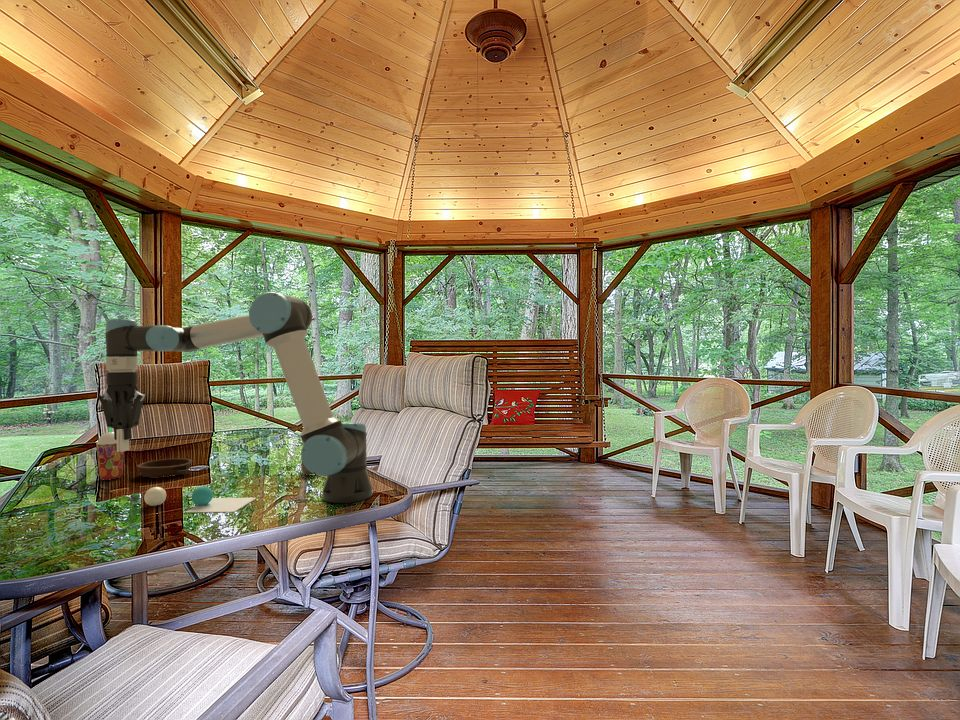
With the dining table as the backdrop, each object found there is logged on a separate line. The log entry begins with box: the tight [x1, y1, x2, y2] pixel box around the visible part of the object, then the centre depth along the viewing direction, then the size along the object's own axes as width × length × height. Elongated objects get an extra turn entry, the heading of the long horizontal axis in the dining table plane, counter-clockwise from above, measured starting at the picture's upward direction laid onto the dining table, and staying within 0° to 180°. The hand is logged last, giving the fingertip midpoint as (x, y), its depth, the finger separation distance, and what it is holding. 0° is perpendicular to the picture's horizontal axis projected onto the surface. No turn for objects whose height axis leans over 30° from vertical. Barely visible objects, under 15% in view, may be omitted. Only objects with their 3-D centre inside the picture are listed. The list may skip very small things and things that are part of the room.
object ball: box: [191, 486, 214, 506], centre depth 146 cm, size 6×6×6 cm
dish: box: [136, 457, 193, 478], centre depth 186 cm, size 18×22×5 cm
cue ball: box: [143, 486, 167, 507], centre depth 146 cm, size 6×6×6 cm
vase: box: [300, 461, 314, 475], centre depth 184 cm, size 7×7×9 cm
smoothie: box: [96, 427, 125, 480], centre depth 180 cm, size 8×8×20 cm
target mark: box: [184, 497, 258, 514], centre depth 146 cm, size 14×14×1 cm
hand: (122, 450), depth 146 cm, fingers closed
